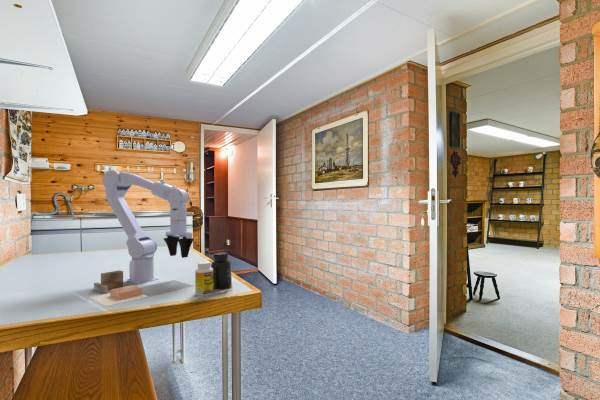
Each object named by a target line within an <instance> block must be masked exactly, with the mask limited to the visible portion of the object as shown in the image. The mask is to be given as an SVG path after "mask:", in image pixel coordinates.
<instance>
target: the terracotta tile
mask: <svg viewBox="0 0 600 400" xmlns="http://www.w3.org/2000/svg"><path fill="white" fill-rule="evenodd" d="M140 287H141V286H138V285H135V284H132V285H127V286H123V287H121V288H116V289H111V290H109V293H110V296H111V297H114V298H116V299H118V300H121V299H126V298H130V297H134V296H139V295H143V288H140Z"/></svg>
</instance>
